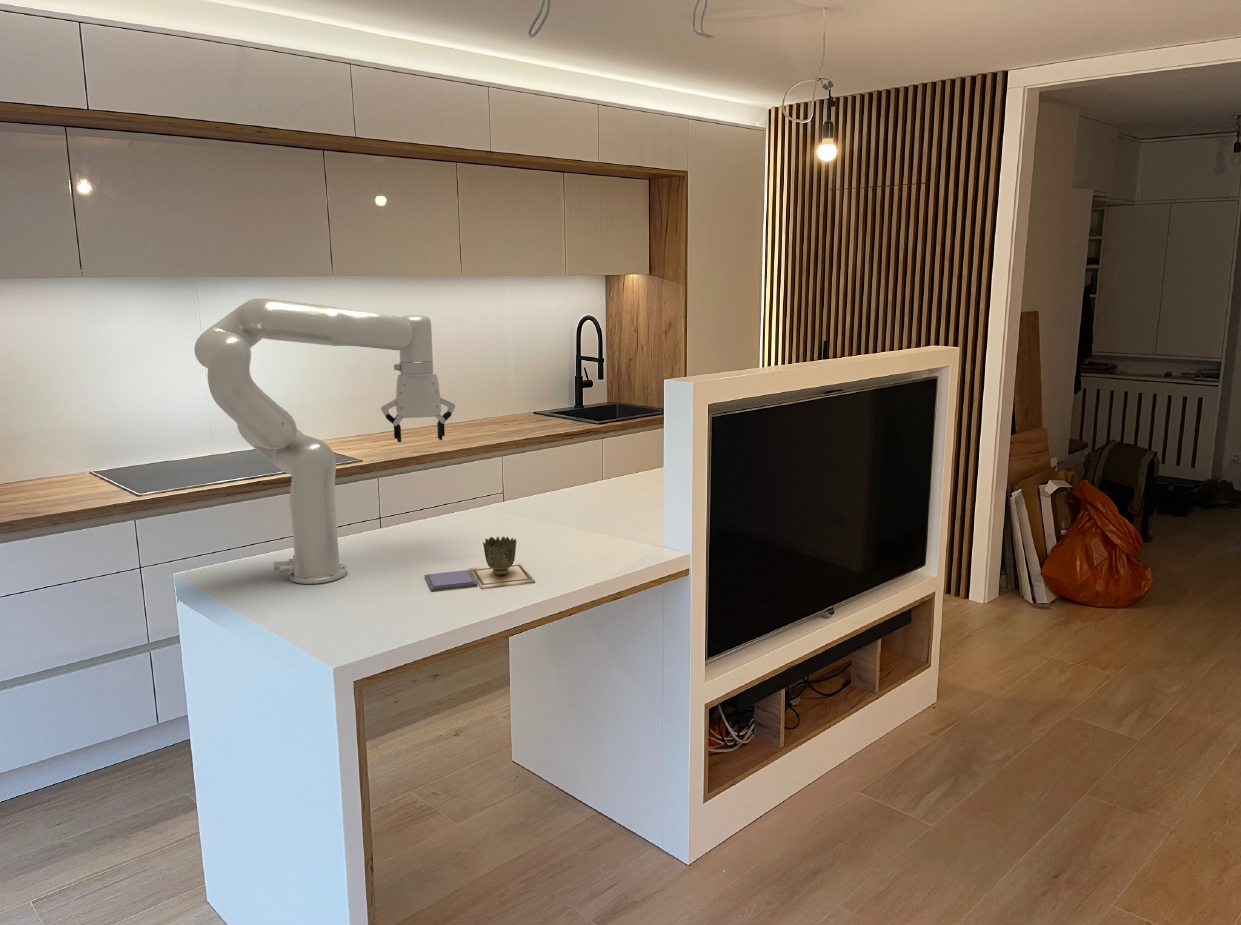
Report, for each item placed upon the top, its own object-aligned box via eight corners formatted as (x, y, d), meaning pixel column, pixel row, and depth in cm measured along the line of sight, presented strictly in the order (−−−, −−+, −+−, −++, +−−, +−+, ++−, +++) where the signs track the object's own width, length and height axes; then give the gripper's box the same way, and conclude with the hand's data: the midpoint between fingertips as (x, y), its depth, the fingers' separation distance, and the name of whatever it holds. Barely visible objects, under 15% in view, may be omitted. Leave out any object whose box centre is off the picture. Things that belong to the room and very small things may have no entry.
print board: (481, 589, 202) (481, 586, 202) (469, 570, 215) (469, 568, 214) (535, 582, 206) (535, 580, 205) (520, 564, 218) (520, 562, 218)
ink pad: (431, 591, 200) (431, 587, 200) (424, 577, 209) (424, 573, 209) (477, 586, 203) (477, 582, 203) (468, 572, 213) (468, 568, 212)
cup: (511, 580, 206) (510, 546, 204) (479, 578, 207) (478, 544, 205) (521, 570, 213) (520, 536, 211) (490, 568, 214) (489, 535, 213)
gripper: (380, 371, 213) (383, 445, 216) (455, 369, 218) (458, 441, 222) (377, 368, 220) (381, 439, 223) (451, 366, 225) (453, 436, 229)
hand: (419, 440), depth 222 cm, fingers open, 9 cm apart
